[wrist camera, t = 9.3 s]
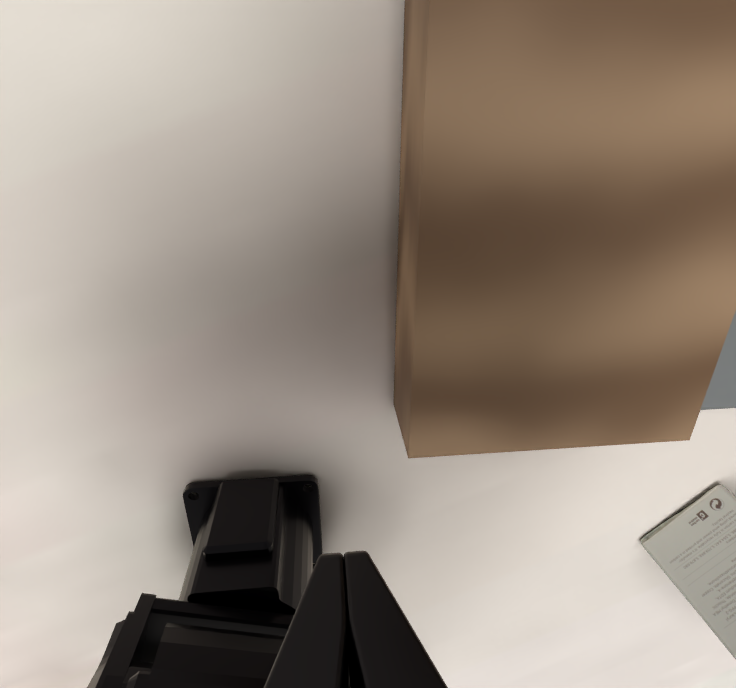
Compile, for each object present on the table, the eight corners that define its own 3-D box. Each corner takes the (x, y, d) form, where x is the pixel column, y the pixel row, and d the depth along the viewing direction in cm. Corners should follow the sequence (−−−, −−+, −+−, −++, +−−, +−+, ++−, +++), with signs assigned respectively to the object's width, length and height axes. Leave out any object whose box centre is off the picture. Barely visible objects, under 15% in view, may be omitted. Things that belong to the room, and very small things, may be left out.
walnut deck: (632, 391, 24) (689, 440, 20) (393, 404, 22) (408, 458, 19) (760, -72, 16) (891, -129, 12) (407, -86, 15) (436, -154, 11)
